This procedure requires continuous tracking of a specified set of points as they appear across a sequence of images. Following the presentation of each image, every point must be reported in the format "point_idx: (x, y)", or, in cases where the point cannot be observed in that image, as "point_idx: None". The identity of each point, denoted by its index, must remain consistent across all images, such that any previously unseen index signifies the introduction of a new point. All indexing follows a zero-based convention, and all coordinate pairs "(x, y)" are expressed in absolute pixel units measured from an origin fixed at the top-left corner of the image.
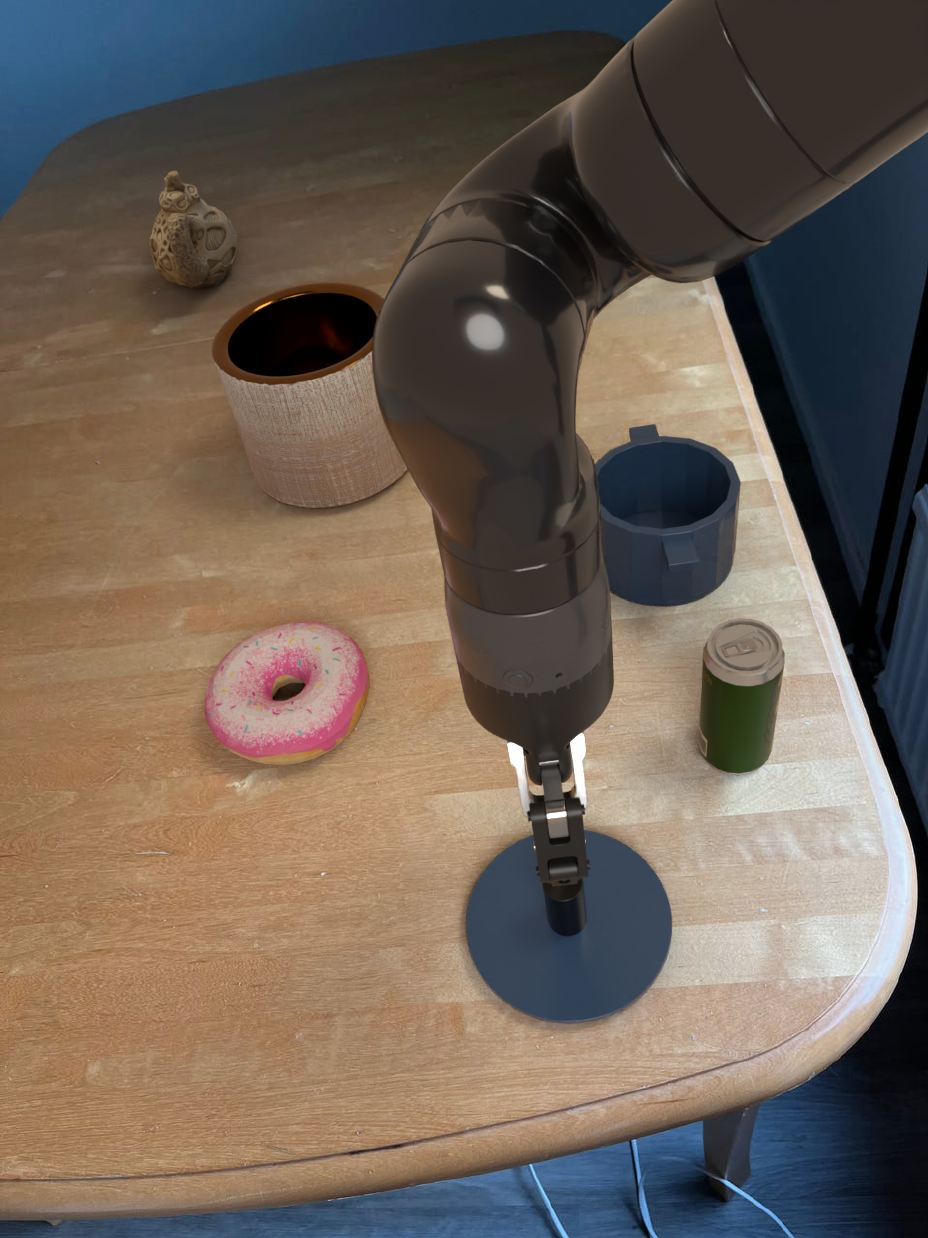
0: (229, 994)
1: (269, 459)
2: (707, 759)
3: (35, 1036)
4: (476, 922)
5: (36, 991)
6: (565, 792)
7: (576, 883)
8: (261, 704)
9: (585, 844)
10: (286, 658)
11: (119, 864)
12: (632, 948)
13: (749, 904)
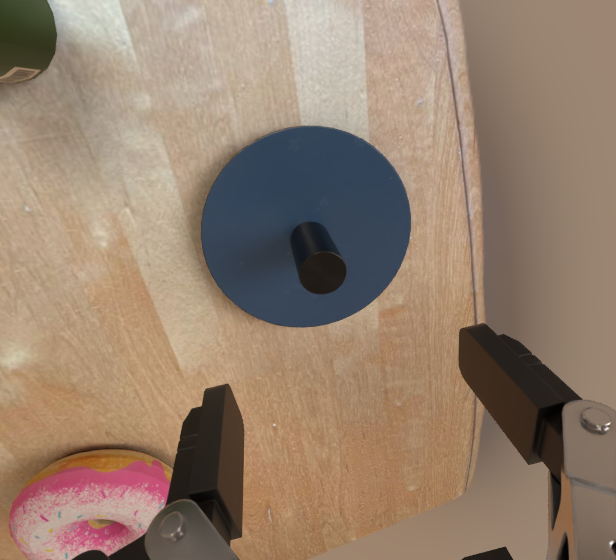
0: (369, 446)
1: None
2: (43, 68)
3: (392, 516)
4: (318, 318)
5: (366, 526)
6: (566, 538)
7: (509, 338)
8: None
9: (606, 413)
10: (72, 539)
11: (280, 526)
12: (339, 171)
13: (264, 17)
